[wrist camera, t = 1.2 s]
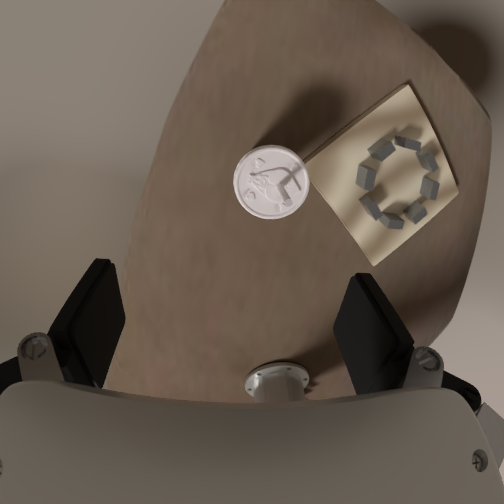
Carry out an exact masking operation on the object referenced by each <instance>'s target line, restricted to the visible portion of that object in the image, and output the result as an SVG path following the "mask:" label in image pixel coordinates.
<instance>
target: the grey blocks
mask: <svg viewBox="0 0 504 504" xmlns="http://www.w3.org/2000/svg"><path fill="white" fill-rule="evenodd" d="M394 145H398V146H401V147H404V148H407V149H411V150H415V151H417V152H416V153H415V154H416V156H417V158H418V160H419V162H420V164H421V166H422V168H424V169H426V170H428V171H430V172H432V173H433V172H435V171H436V170H437V169H438V168H439V167H438V164H437V162H436V160H435V158H434V155H433V153H432V152H430V151H427V150H424V149H421V142H419V141H415V140H412V139H408V138H405V137H401V136H397V135H395V140H394ZM394 145H393V143H392V142H391V141H388V140H385V139H382V138H381V139H380V140H378V141H377V142H376V143H374V144H373V145H372V146H371V147H369V148H368V149H367V150H368V152H369V153H370V155H371V156H372V158H375V159H377V160H379V161H381V162H382V161H383V160H385V159H386V158H387V157H388V156H389V155H391V154H392V153H393V152H394V151H396V149H395V147H394ZM376 172H377V171H376V170H374V169H372V168H371V167H369V166H365V165H358V171H357V177H356V183H355V184H357V185H358V186H359V187H361V188H362V189H364V190H370V191H373V188H374V183H375V177H376ZM439 186H440V183H438V182H437V181H435V180H433V179H431V178H428V177H423V179H422V184H421V188H420V194H422V195H423V196H425V197H426V198H428V199H430V200H435V201H436V198H437V194H438V190H439ZM359 201H360V203H361V204H362V206H363V207H364V209H365V210H366V212H367V214H369V215H370V216H371V217H372V218H373V219H374V220H375V221H377V220H378V219H379V221H380V222H381V223H382V224H383V225H384V226H385V227H387V228H388V229H401V230H403V226H404V222H405V221H404V220H403V219H402V218H401V217H399V216H398V215H397V214H396V213H386V212H381V211H380V209H379V207H378V206H377V204H376V202H375V201H374V200H373V199H372V198H370V197H369V196H368V195H366V194H365V195H364V196H362V197H361V198H360V199H359ZM403 212H404V214H405V216H406V218H408V219H409V220H410V221H411V222H413V223H414V224H415V225H416V224H417V223H418V222H419V221H421V220H422V219H423V218H424V217H425V216H426V215H427V214H428V213H427V211H426V208H425V207H424V206H422V205H421V204H419V203H418V202H416V201H414V202H413V203H412V204H410V205H409V206H408V207H407V208H406V209H405V210H403Z"/></svg>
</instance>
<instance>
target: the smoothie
mask: <svg viewBox="0 0 504 504" xmlns="http://www.w3.org/2000/svg"><path fill="white" fill-rule="evenodd" d="M233 184H234V189H235V193H236V196H237V198H238V200H239V202H240V203H241V205H242V206H243V207H244V208H245V209H246V210H247V211H248V212H250V213H251V214H253V215H255V216H257V217H260V218H265V219H278V218H282V217H285V216H287V215H289V214H291V213H293V212H294V211H296V210H297V209H298V208H299V207H300V206H301V205H302V203H303V202H304V200H305V198H306V196H307V194H308V191H309V184H310V180H309V174H308V170H307V168H306V166H305V164H304V162H303V161H302V160H301V159H300V157H299V156H298V155H297V154H295V153H294V152H293V151H292V150H290V149H288V148H285V147H283V146H278V145H265V146H260V147H257V148H254V149H253V150H251V151H250V152H249V153H247V154H246V155H245V156H244V157H243V158H242V159H241V161H240V162H239V163H238V165H237V168H236V170H235V173H234V181H233Z"/></svg>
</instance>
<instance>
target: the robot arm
mask: <svg viewBox="0 0 504 504" xmlns="http://www.w3.org/2000/svg"><path fill="white" fill-rule="evenodd" d="M124 324H125V312H124V308H123V304H122V299H121V294H120V289H119V285H118V279H117V274H116V268H115V265H114V263H111V261H110V260H109V259H98V258H96V259H95V260H94V261H93V263H92V264H91V265H90V267H89V268H88V270H87V271H86V272H85V274H84V275H83V277H82V278H81V280H80V281H79V283H78V284H77V286H76V287H75V289H74V290H73V292H72V293H71V295H70V296H69V298H68V299H67V301H66V302H65V304H64V306H63V307H62V309H61V310H60V312H59V314H58V316H57V317H56V319H55V320H54V322H53V324H52V325H51V327H50V330H49V332H48V334H47V335H46V334H45V333H42V332H35V333H31V334H29V335H27V336H26V337H24V338H23V339H22V340H21V342H20V343H19V346H18V348H17V355H18V356H17V357H14V358H12V359H10V360H8V361H6V362H3V363H2V364H0V504H504V485H503V481H502V478H501V475H500V472H499V467H500V465H501V463H502V461H503V458H504V419H503V418H502V417H501V416H499V415H498V414H497V413H496V412H495V411H494V410H493V409H492V408H490V407H489V406H488V405H487V404H486V403H485V402H484V403H483V404H481V396H480V393H479V391H478V390H477V389H476V388H475V387H474V386H473V385H471V384H470V383H468V382H466V381H464V380H462V379H460V378H458V377H456V376H454V375H452V374H450V373H448V372H446V371H444V363H443V360H442V357H441V356H440V355H439V353H437V352H436V351H435V350H434V349H432V348H430V347H426V346H420V347H417V348H416V349H415V348H414V347H413V344H414V340H413V338H412V337H411V335H410V333H409V332H408V330H407V328H406V327H405V325H404V324H403V322H402V320H401V319H400V317H399V316H398V314H397V313H396V311H395V309H394V308H393V306H392V305H391V303H390V302H389V300H388V299H387V297H386V296H385V294H384V293H383V291H382V290H381V288H380V287H379V285H378V284H377V282H376V281H375V280H374V278H373V277H372V275H371V274H370V273H356V274H355V276H352V277H351V279H350V282H349V285H348V287H347V290H346V293H345V296H344V299H343V302H342V304H341V307H340V310H339V312H338V315H337V318H336V320H335V323H334V327H333V330H334V334H335V337H336V340H337V342H338V345H339V348H340V350H341V353H342V356H343V358H344V361H345V364H346V366H347V369H348V372H349V375H350V377H351V380H352V383H353V386H354V389H355V391H356V394H357V395H354V396H347V397H339V398H330V399H320V400H309V399H308V398H306V397H305V393H304V388H305V387H306V386H307V385H308V383H309V375H308V372H307V370H306V369H305V368H304V367H302V366H301V365H298V364H295V363H289V362H277V363H271V364H267V365H264V366H261V367H259V368H257V369H255V370H254V371H252V372H251V373H250V374H249V375H248V376H247V378H246V380H245V389H246V391H247V392H248V394H250V395H251V396H253V397H254V403H224V402H203V401H188V400H177V399H167V398H158V397H150V396H143V395H136V394H130V393H124V392H117V391H112V390H105V389H102V387H103V385H104V381H105V379H106V375H107V372H108V369H109V366H110V363H111V360H112V358H113V355H114V352H115V349H116V346H117V343H118V341H119V338H120V335H121V332H122V330H123V327H124Z"/></svg>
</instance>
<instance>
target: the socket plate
mask: <svg viewBox="0 0 504 504" xmlns="http://www.w3.org/2000/svg"><path fill="white" fill-rule="evenodd" d="M395 135H397V136H401V137H405V138H408V139H412V140H415V141H419V142H421V149H424V150H427V151H430V152H432V153H433V155H434V158H435V160H436V162H437V164H438V167H439V168H438V169H437V170H436V171H435V172H433V173H432V172H430V171H428V170H426V169H424V168H422V166H421V164H420V162H419V160H418V158H417V156H416V154H415V153H416V152H417V151H415V150H411V149H407V148H404V147H401V146H398V145H394V140H395ZM381 138H382V139H385V140H388V141H391V142H392V143H393V145H394V147H395V149H396V151H394V152H393V153H392V154H391V155H389V156H388V157H387V158H386V159H385V160H383V161H382V162H381V161H379V160H377V159H375V158H372V156H371V155H370V153H369V152H368V150H367V149H368V148H369V147H371V146H372V145H373V144H374V143H376V142H377V141H378V140H380V139H381ZM303 162H304V164H305V166H306V168H307V170H308V174H309V180H310V181H311V182H312V183H313V185H314V186H315V187H316V188H317V190H318V191H319V192H320V194H321V195H322V196H323V197H324V199H325V200H326V201H327V203H328V204H329V205H330V207H331V208H332V209H333V211H334V212H335V213H336V215H337V216H338V217H339V219H340V220H341V221H342V223H343V224H344V225H345V227H346V228H347V230H348V231H349V232H350V234H351V235H352V237H353V238H354V239H355V241H356V242H357V244H358V245H359V247H360V248H361V249H362V251H363V252H364V254H365V255H366V257H367V258H368V260H369V261H370V262H371V264H372V265H373V266H375V265H376V264H377V263H379V262H380V261H381V260H383V259H384V258H385V257H386V256H388V255H389V254H390V253H391V252H393V251H394V250H395V249H396V248H397V247H399V246H400V245H401V244H402V243H404V242H405V241H406V240H407V239H408V238H409V237H411V236H412V235H413V234H414V233H415V232H417V231H418V230H419V229H420V228H421V227H422V226H423V225H425V224H426V223H427V222H428V221H429V220H430V219H431V218H433V217H434V216H435V215H436V214H437V213H438V212H439V211H440V210H441V209H443V208H444V207H445V206H446V205H447V204H448V203H449V202H450V201H451V200H452V199H453V198H454V197H455V196H456V195H458V194H459V192H458V189H457V186H456V183H455V180H454V178H453V175H452V172H451V170H450V167H449V165H448V162H447V160H446V157H445V155H444V153H443V150H442V148H441V146H440V144H439V141H438V139H437V137H436V135H435V133H434V131H433V129H432V126H431V124H430V122H429V120H428V119H427V117H426V115H425V113H424V111H423V109H422V107H421V105H420V103H419V102H418V100H417V98H416V96H415V95H414V93H413V91H412V90H411V88H410V86H409V85H401V86H400V87H398V88H397V89H396V90H394V91H393V92H392V93H390V94H389V95H387V96H386V97H385V98H383V99H382V100H381V101H379V102H378V103H377V104H375V105H374V106H373V107H371V108H370V109H369V110H367V111H366V112H365V113H363V114H362V115H361V116H359V117H358V118H357V119H355V120H354V121H353V122H352V123H350V124H349V125H348V126H346V127H345V128H344V129H342V130H341V131H340V132H339V133H337V134H336V135H335V136H333V137H332V138H331V139H330V140H328V141H327V142H326V143H325V144H323V145H322V146H321V147H320V148H318V149H317V150H316V151H314V152H313V153H312V154H311V155H309V156H308V157H307V158H306V159H305V160H303ZM358 165H365V166H369V167H371V168H372V169H374V170H376V171H377V172H376V177H375V183H374V188H373V191H370V190H364V189H362V188H361V187H359V186H358V185H357V184H355V183H356V177H357V171H358ZM423 177H428V178H431V179H433V180H435V181H437V182H438V183H440V186H439V190H438V194H437V198H436V201H435V200H430V199H428V198H426V197H425V196H423V195H422V194H420V188H421V184H422V179H423ZM365 194H366V195H368V196H369V197H370V198H372V199H373V200H374V201H375V202H376V204H377V206H378V207H379V209H380V211H381V212H386V213H396V214H397V215H398V216H399V217H401V218H402V219H403V220H404V221H405V222H404V226H403V230H401V229H388V228H387V227H385V226H384V225H383V224H382V223H381V222H380V221H379V219H378V220H377V221H375V220H374V219H373V218H372V217H371V216H370V215H369V214H367V212H366V210H365V209H364V207H363V206H362V204H361V203H360V201H359V199H360V198H361V197H362V196H364V195H365ZM414 201H416V202H418V203H419V204H421V205H422V206H424V207H425V208H426V211H427V213H428V214H427V215H426V216H425V217H424V218H423V219H422V220H421V221H419V222H418V223H417V224H416V225H415V224H414V223H413V222H411V221H410V220H409V219H408V218H406V216H405V214H404V212H403V210H405V209H406V208H407V207H408V206H409V205H410V204H412V203H413V202H414Z"/></svg>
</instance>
